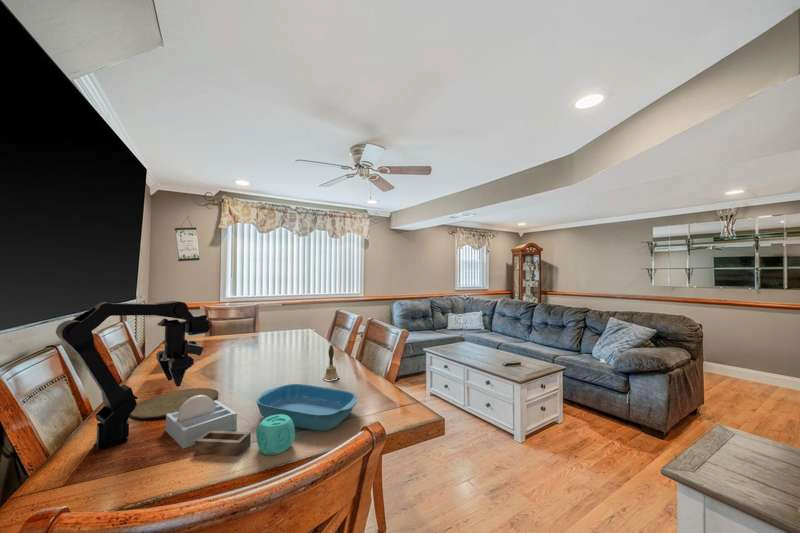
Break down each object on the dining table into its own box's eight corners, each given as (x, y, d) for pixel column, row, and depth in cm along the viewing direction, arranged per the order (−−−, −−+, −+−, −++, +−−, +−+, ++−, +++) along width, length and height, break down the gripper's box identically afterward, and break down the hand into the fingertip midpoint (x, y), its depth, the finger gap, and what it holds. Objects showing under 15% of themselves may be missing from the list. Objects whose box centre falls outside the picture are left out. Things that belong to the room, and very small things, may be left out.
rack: (183, 448, 92) (183, 430, 92) (165, 430, 102) (166, 414, 102) (236, 429, 103) (236, 413, 103) (216, 414, 114) (216, 400, 114)
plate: (205, 431, 103) (221, 399, 106) (173, 427, 96) (191, 393, 100) (202, 429, 104) (218, 397, 108) (170, 425, 97) (188, 391, 101)
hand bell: (319, 380, 151) (319, 346, 151) (327, 375, 159) (328, 343, 159) (334, 382, 148) (335, 348, 149) (342, 376, 156) (343, 344, 156)
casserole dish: (367, 411, 118) (367, 391, 118) (337, 441, 97) (337, 417, 97) (285, 398, 130) (285, 380, 130) (242, 422, 109) (242, 401, 109)
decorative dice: (281, 437, 98) (281, 411, 98) (295, 447, 93) (295, 419, 93) (255, 448, 92) (256, 420, 92) (268, 458, 87) (269, 429, 87)
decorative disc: (178, 383, 140) (237, 385, 134) (178, 391, 140) (237, 393, 134) (106, 411, 112) (177, 415, 106) (106, 421, 112) (177, 425, 106)
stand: (194, 453, 89) (195, 440, 89) (209, 442, 95) (209, 430, 95) (238, 455, 88) (239, 442, 89) (250, 444, 94) (250, 432, 94)
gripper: (211, 337, 109) (210, 383, 109) (192, 331, 121) (191, 372, 121) (172, 343, 101) (171, 392, 100) (156, 335, 113) (155, 379, 112)
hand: (174, 383), depth 109 cm, fingers open, 9 cm apart
